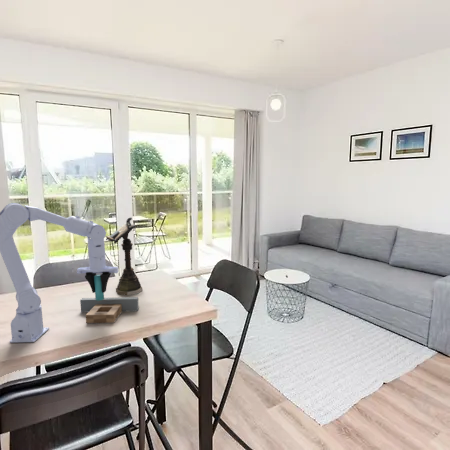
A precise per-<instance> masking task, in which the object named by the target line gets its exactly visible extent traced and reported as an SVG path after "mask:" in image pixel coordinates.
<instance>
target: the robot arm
mask: <svg viewBox="0 0 450 450" xmlns="http://www.w3.org/2000/svg"><path fill="white" fill-rule="evenodd" d="M39 220H40V221H44V222H47V223H49V224H54V225H57V226H60V227H63V228H64V230H65V232H68V233H71V234H74V235H78V236H81V237H84V238H85V237H86V238H87V250H88V251H87V252H88V253H87V254H88V265H89V266H82V267H78V268H77V269H76V273H77V275H81V274H85V275H84V278H85V279H86V281H87V282H88V284H89V286H90V288H91V292H92V293H93V294H95V284H94V276H95V275H97V274H99V275H100V278H101V282H102V293H105V292H106V291H107V285H108V281H109V280H110V276H111V274H113V273H114V274H118V273H119V271H120V270H119V266H111V265H110V266H109V265H107V263H106V260H107V259H106V247H105V244H106V243H105V238H106V236H107V231H106V230H105V228H104V226H102V225H101V224H98V223H96V222H94V221H93V220H89V221H88V220H86V219H83V218H81V216H79V215H75V216H74V215H71V216H68V217H65V216H61V215H58V214H56V213H53V212H52V211H51V212H50V211H48V210H45V209H42V208H39V207H36V206H32V205H31V206H30V205H27V204H26V205H25V204H23V205H22V204H20V203H18V202H11V203H8V204H7V205H5V206H4V207H3V208H2V210H1V211H0V255H1V258H2V260H3V263H4V264H5V267H6V270H7V272H8V274H9V275H8V276H9V278H10V279H11V282H12V284H13V287H14V289H15V292H16V293H15V299H16V300H15V301H16V302H17V308H16V310H15V315H14V318H12V320H11V321H10V333H11V339H10V340H9V343H34V342H36V341H37V340H38V339H39V338H41V337H42V336H43V335H44V334H46V332H48V331H49V330H50V327H44V321H43V310H42V309H43V308H42V305H41V304H42V300H41V297H40V296H39V294H38V291H37V289H36V288H35V287H33V286H32V284H31V281H30V279H29V277H28V276H29V275H28V274H27V271H26V269H25V265H24V262H23V261H22V258H21V256H20V254H19V251H18V248H17V246H16V243H15V241H14V238H13V235H14V234H15V233H16V231H17V230H18V228H19V227H21V226H22V225H24V224H25V223H26V222H27V221H29V222H35V221H39Z"/></svg>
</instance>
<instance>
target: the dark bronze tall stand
mask: <svg viewBox="0 0 450 450" xmlns="http://www.w3.org/2000/svg"><path fill="white" fill-rule="evenodd" d="M132 220H133V217H129V218H127V219H126V221H125V223H123V225H122V226H120V228H118V229H117V230H116V231H114V232H113V233H112V234H111V235H109V236H108V235H106V236H105V238H106V239H105V241H109V242H113V243H114V244H117V243H118V242H119V240H121V239H123V240H122V243H121V245H120V246H121V247H122V251H123V252H124V264H125V267H124V268H123V269H122V270H123V272H122V274H121V276H119V279H118V284H117V286H116V288H115V292H116V294H117V295H119V296H131V295H137V294H139V293H141V292H142V291H143V286H142V285H141V282H140V280H139V277H138V276H137V274H136V273H135V270H134V268H133V267H132V264H131V263H132V262H131V261H132V258H131V257H132V256H131V251H132V250H133V246H134V244H133V243H132V240H131V239H130V238H128V237H129V233H131V231H132V230H133V229H134V228H135V227H136V225H135V224H131V221H132Z"/></svg>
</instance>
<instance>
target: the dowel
mask: <svg viewBox="0 0 450 450" xmlns="http://www.w3.org/2000/svg"><path fill="white" fill-rule="evenodd" d="M100 275H101V274H96V275H95V276H94V284H95V293H94V295H95V297H94V298H96V300H97V301H100V300H103V299H104V298H105V294H104V293H105V292H104V293H102V282H101V278H100Z"/></svg>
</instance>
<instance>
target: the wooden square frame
mask: <svg viewBox="0 0 450 450" xmlns="http://www.w3.org/2000/svg"><path fill="white" fill-rule="evenodd" d="M122 312H123V311H122V304H96V305H95V306H94V307H93V308H92V309H91V310H90V311H89V312H86V314H85V323H86V324H96V323H97V324H98V323H99V324H105V323H106V324H107V323H113V324H114V323H115V322H116V321H117V319H118V317H119V316H120V314H121V313H122Z"/></svg>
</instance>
